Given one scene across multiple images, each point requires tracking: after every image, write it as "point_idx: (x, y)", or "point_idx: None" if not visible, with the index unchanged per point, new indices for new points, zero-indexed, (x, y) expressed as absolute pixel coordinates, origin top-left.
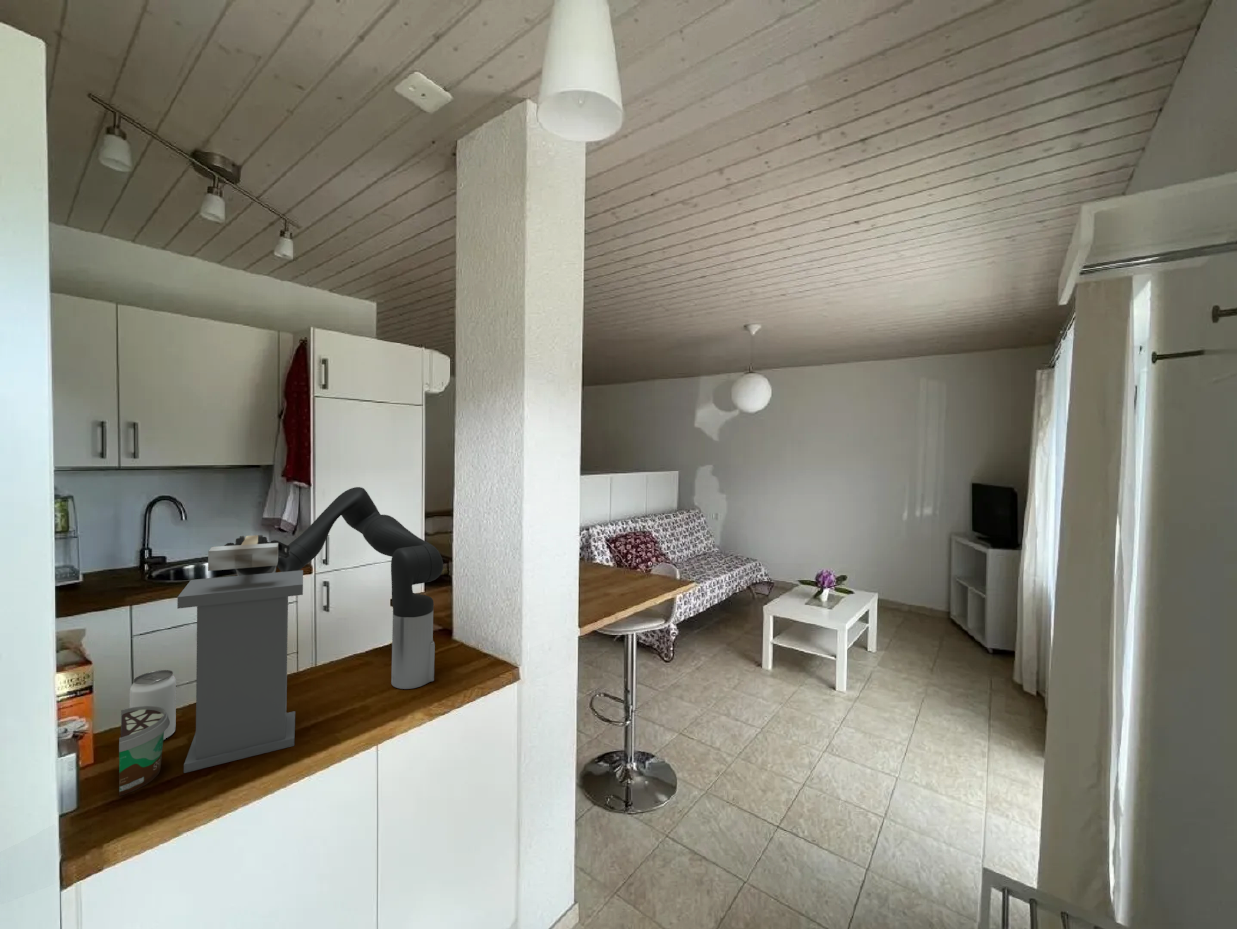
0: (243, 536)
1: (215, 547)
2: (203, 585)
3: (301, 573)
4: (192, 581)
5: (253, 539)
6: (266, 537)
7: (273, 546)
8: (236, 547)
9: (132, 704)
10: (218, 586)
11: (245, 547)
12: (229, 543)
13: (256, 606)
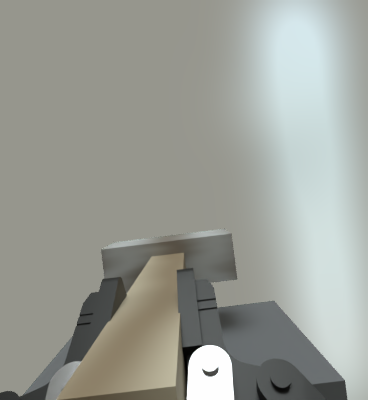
0: (178, 270)
1: (221, 233)
2: (266, 336)
3: (34, 386)
4: (323, 365)
5: (139, 308)
6: (84, 302)
7: (119, 242)
8: (182, 236)
9: None
10: (229, 329)
11: (166, 237)
12: (275, 360)
13: None
